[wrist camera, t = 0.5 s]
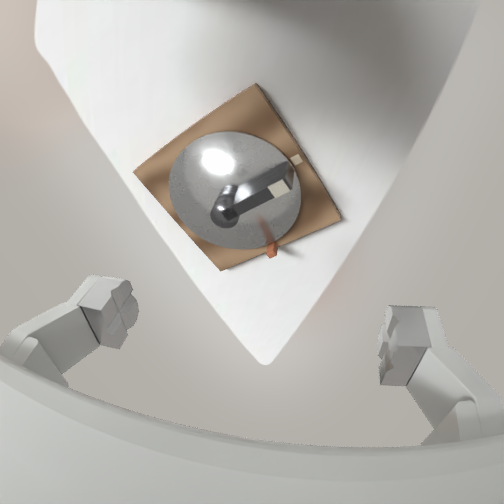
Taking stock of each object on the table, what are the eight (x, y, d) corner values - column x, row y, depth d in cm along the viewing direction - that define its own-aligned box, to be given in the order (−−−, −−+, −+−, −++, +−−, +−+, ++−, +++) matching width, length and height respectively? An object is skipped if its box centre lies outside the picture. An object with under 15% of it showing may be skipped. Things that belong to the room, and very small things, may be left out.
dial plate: (137, 167, 45) (125, 179, 42) (255, 83, 35) (250, 88, 32) (222, 265, 56) (217, 281, 53) (340, 214, 45) (342, 230, 42)
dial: (222, 261, 53) (213, 288, 48) (146, 175, 44) (128, 196, 40) (325, 216, 44) (326, 242, 40) (250, 103, 36) (241, 116, 31)
